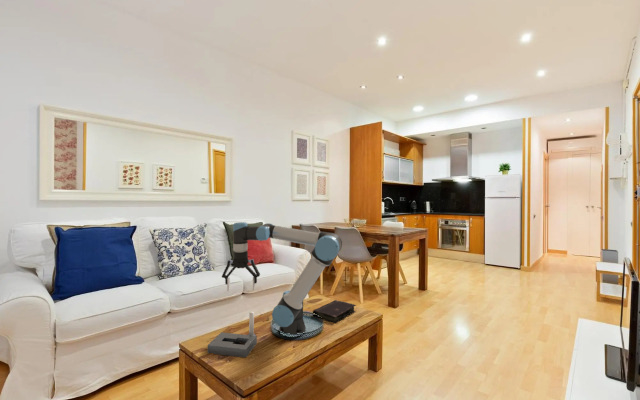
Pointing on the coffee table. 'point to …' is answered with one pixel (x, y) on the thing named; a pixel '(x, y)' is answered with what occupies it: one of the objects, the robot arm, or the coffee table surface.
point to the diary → (335, 311)
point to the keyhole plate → (226, 346)
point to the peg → (251, 324)
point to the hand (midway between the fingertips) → (241, 289)
